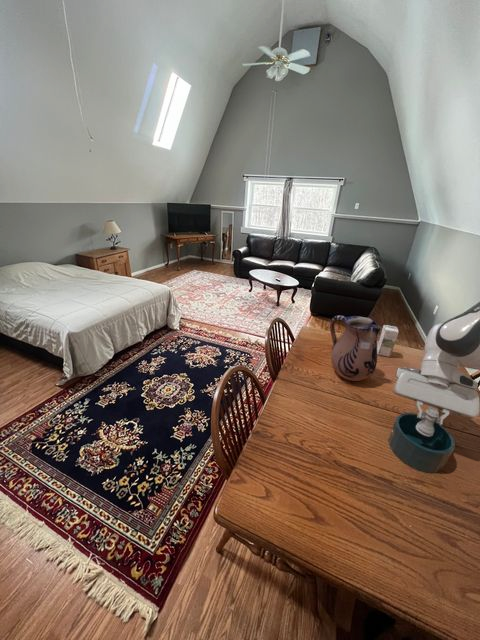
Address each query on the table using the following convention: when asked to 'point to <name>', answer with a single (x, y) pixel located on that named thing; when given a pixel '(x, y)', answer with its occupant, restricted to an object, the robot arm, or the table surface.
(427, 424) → the rook chess piece
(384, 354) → the syrup box
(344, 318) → the ceramic pitcher
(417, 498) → the table surface
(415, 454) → the pot
